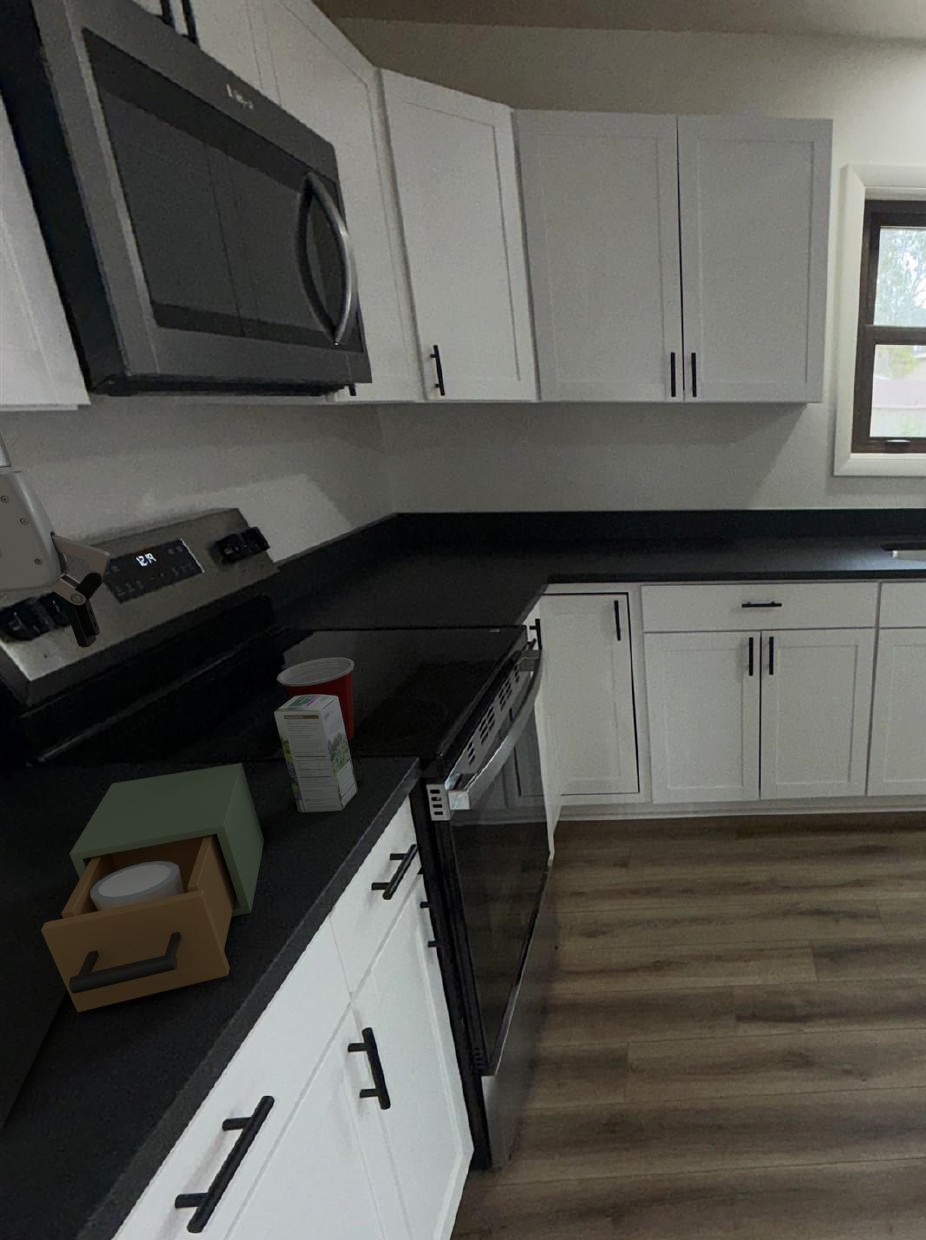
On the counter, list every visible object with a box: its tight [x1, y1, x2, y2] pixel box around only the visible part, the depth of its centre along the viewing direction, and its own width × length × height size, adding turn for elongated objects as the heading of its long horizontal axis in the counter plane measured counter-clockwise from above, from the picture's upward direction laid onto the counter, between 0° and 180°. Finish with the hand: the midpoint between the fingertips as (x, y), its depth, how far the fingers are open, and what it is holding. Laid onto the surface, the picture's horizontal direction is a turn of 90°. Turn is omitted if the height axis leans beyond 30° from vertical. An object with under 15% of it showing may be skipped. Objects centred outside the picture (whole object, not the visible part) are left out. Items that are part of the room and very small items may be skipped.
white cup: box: [90, 861, 184, 911], centre depth 76 cm, size 7×7×7 cm
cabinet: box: [69, 762, 265, 918], centre depth 87 cm, size 17×13×11 cm
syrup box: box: [273, 695, 359, 814], centre depth 104 cm, size 6×6×14 cm
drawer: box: [40, 834, 236, 1013], centre depth 74 cm, size 20×11×9 cm, turn 25°
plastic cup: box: [276, 656, 355, 741], centre depth 125 cm, size 11×11×12 cm
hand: (25, 650), depth 75 cm, fingers open, 9 cm apart
